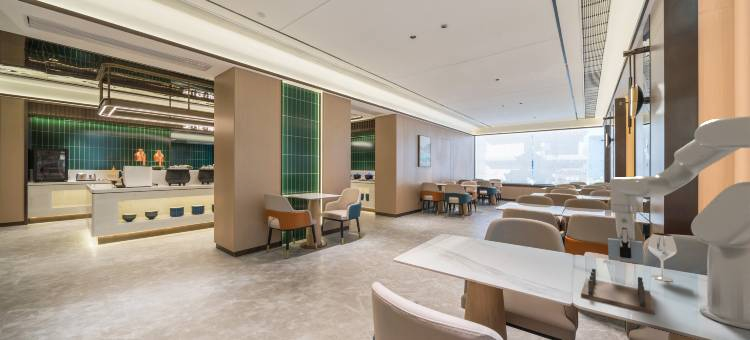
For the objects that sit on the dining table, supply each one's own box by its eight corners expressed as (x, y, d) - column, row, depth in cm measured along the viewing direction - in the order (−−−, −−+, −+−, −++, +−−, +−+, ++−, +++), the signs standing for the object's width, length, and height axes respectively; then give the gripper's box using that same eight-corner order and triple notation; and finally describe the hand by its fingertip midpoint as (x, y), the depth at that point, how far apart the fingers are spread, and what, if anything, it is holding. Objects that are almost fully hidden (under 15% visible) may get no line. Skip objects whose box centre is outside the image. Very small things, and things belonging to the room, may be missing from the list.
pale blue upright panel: (643, 262, 105) (642, 241, 106) (643, 264, 104) (642, 242, 104) (608, 258, 112) (607, 238, 112) (608, 259, 110) (607, 239, 111)
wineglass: (663, 275, 118) (663, 232, 118) (683, 282, 110) (683, 237, 110) (642, 274, 119) (642, 232, 119) (660, 282, 110) (660, 236, 111)
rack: (649, 294, 99) (649, 278, 99) (654, 314, 85) (654, 295, 85) (586, 280, 111) (586, 266, 111) (581, 296, 97) (580, 280, 97)
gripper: (637, 211, 100) (640, 263, 99) (635, 208, 112) (637, 254, 111) (610, 210, 105) (612, 259, 104) (611, 207, 117) (613, 251, 116)
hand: (625, 256), depth 108 cm, fingers closed on pale blue upright panel, 2 cm apart
